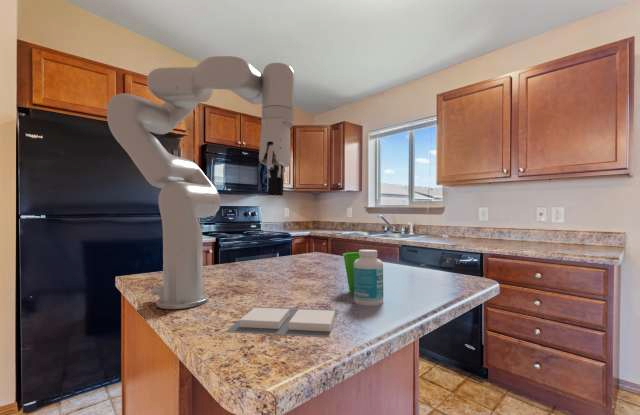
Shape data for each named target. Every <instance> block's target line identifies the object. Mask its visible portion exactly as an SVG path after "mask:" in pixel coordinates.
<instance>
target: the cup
mask: <svg viewBox="0 0 640 415" xmlns="http://www.w3.org/2000/svg"><path fill="white" fill-rule="evenodd" d="M342 256H343V259H344V267H345V273H346V278H347V284H348V290H349V293H350V294H353V295H354V262H355V260H357V259H359V258H360V256H359V251H358V252H354V251H353V252H344V253H342Z"/></svg>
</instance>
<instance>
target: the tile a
mask: <svg viewBox="0 0 640 415" xmlns="http://www.w3.org/2000/svg"><path fill="white" fill-rule="evenodd" d="M278 308H279V307H276V308H255V307H254V309H253V308H252V309H251V310H250V311H249V312H247V313H248V314H247V313H246V314H245V315H244V316H243V317H242V318H241V317H240V319H239V320H240V327H241V328H258V329H279V328H280V327H281V326H282V325H283V323H284V322H285V321H286V319H287V318H288V317H289V316H290V309H278Z"/></svg>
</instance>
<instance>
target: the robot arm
mask: <svg viewBox="0 0 640 415" xmlns="http://www.w3.org/2000/svg"><path fill="white" fill-rule="evenodd" d="M294 72H295V71H294V70H293V68H292V67H291V66H290V65H288V64H287V63H283V62H270V63H268V64H267V65H265V67H264V68H263V70H262V72H261V71H259V70H257V69H256V68H255V67H254V66H253V65H252V64H250V63H249V62H248V61H247V60H245V59H243V58H241V57H238V56H235V55H233V56H231V55H221V56H217V55H216V56H210V57H207V58H205V59H203V60H202V61H200V62H199V63H198V64H197V65H196V66H187V67H186V66H184V67H183V66H181V67H176V66H175V67H158V68H155V69H153V70H151V71H150V72H149V73H148V75H147V77H146V84H147V88H148V89H149V91H150V93H151V94H152V95H153V96H155V98H157V99H159V100H161V101H163V103H162V104H161V105H160V104H158V103H156V102H154V101H151V100H149V99H147V98H144V97H141V96H139V95H137V94H132V93H126V92H125V93H118V94H116V95H114V96H112V98H110V100H109V102H108V103H107V108H106V120H107V124H108V128H109V130H110V133H111V134H112V136H113V137H114V139H115V140H116V141H117V143H118V144H119V145H120V146H121V147H122V149H123V150H125V152H126V153H127V155H128V156H129V157H130V159H131V160H132V162H133V163H134V165H135V166H136V168H137V169H138V170H139V171H140V173H141V174H142V176H143V177H144V178H145V180H146V181H147V182H148V183H149V184H150V185H151V186H152V187H155V188H159V189H161V190H160V191H159V195H158V200H157V201H158V209H159V213H160V218H161V224H162V226H161V227H162V261H163V262H162V277H163V278H162V285H154V286H153V287H152V289H151V290H150V295H155V296H156V295H158V296H159V298H158V299H157V300H156V302H155V303H156V304H155V305H156V307H158V308H160V309H164V310H181V309H188V308H193V307H194V308H195V307H197V306H201V305H203V304H206V303H207V302H208V301H209V299H210V295H209V294H208V293H206V292H204V290H203V289H204V288H203V286H204V284H203V282H204V281H203V280H204V276H203V272H204V270H203V269H204V268H203V266H204V265H203V261H204V260H203V258H204V257H203V230H202V226H201V224H200V220H199V219H200V218H203V219H204V218H211V217H213V216H214V215H216V214H217V213H218V211H219V210H220V207H221V204H222V202H221V197H220V194H219V191H218V190H217V188H216V187H215V185H214V184H213V183H212V182H211V181H210V179H209V178H208V176H207V175H205V173H204V171H203V170H202V169H201V168H200V167H199V166H198V165H197V164H196V163H195V162H194V161H192V160H190V159H188V158H185V157H182V156H181V157H180V156H176V155H173V154H171V153H170V152H168V151H167V149H166V148H165V147H164V146H163V145H162V144H161V142H160V141H159V139H158V138H157V137H156V136H154V134H156V135H165V134H169V133H170V132H172V131H173V130H174V129H175V128H176V127H178V125H179V124H180V123H182V122H183V121H184V120H185V118H187V117H188V116H189V115H190V114H191V113H192V112H193V111H194V110H195V109H196V107H197V106H198V105H199V103H205V102H207V101H209V100H210V99H211V98H212V95H213V92H214V90H227V91H231V92H232V93H233V94H235V95H237V96H239V97H240V98H242V99H243V100H244V101H246V102H247V103H250V104H251V105H261V129H260V140H259V150H258V151H259V154H258V160H259V162H260V163H261V164H263V165H264V166H266V168H267V171H268V172H267V175H268V176H267V177H268V195H269V196H280V197H281V196H284V180H285V172H286V168H288V167H289V166H290V165H291V164H290V162H291V128H292V127H294V112H295V111H294V107H295V105H294V104H295V102H294V101H295V73H294ZM152 133H153V134H152Z"/></svg>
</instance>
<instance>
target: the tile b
mask: <svg viewBox="0 0 640 415" xmlns="http://www.w3.org/2000/svg"><path fill="white" fill-rule="evenodd" d="M303 309H304V308H302V309H298V311H297V312H296V313H295V315H294V316H293V317H292V319H291V320H290V321H289V329H290V330H297V331H317V332H330V331H331V332H332V330H331V328H332V329H333V327H332V325H333V326H334V324H333V322H334V323H335V321H334V319H335V320H336V318H335V311H329V310H330V309H328V310H303Z"/></svg>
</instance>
